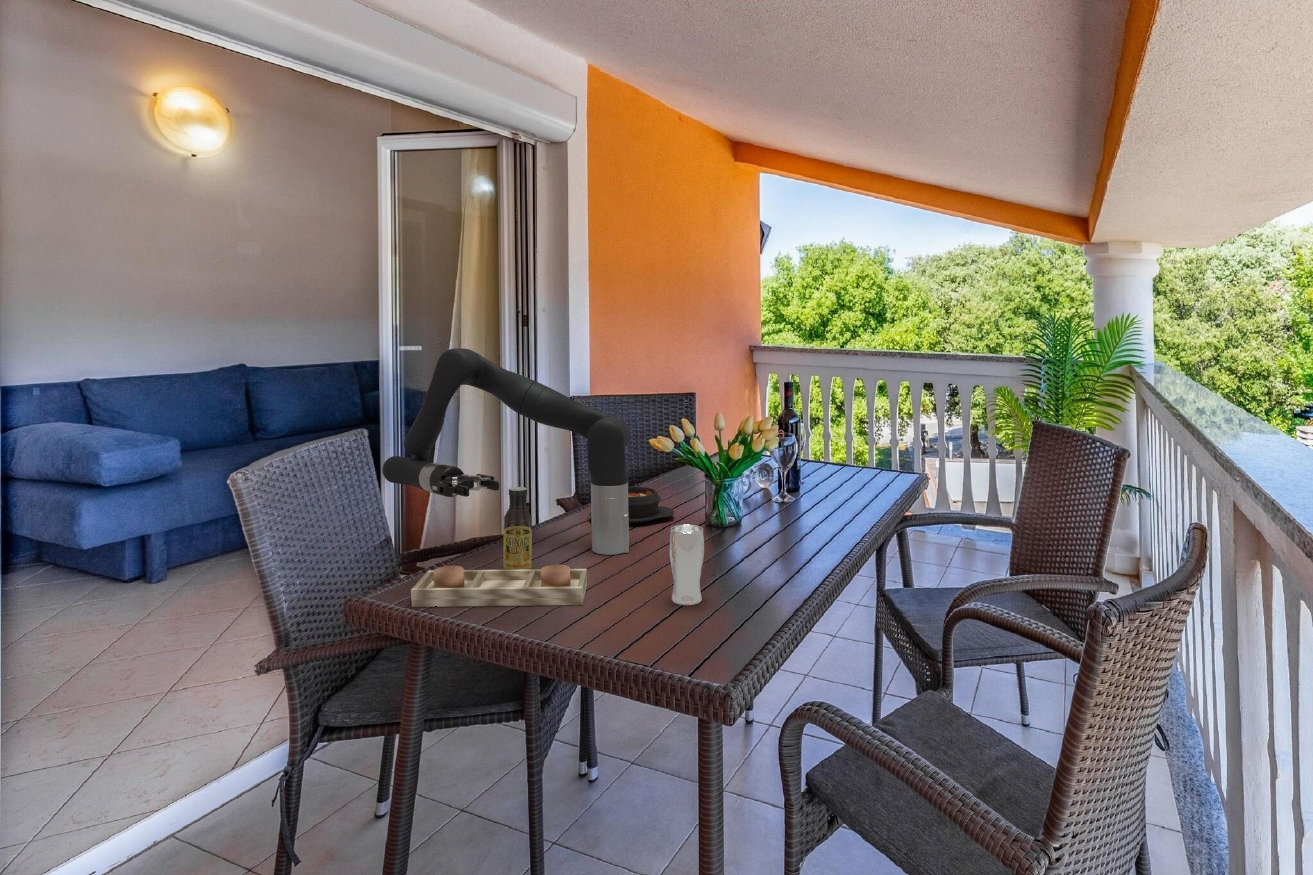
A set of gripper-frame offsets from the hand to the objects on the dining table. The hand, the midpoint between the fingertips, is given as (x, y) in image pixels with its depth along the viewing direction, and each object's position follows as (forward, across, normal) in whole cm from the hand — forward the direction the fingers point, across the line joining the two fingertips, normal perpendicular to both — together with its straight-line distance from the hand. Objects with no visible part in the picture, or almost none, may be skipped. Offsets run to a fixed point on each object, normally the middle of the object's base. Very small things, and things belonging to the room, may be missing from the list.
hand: (483, 489), depth 168 cm
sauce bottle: (+12, 0, +18) cm, 22 cm away
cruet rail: (+19, -10, +18) cm, 28 cm away
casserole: (0, +53, +18) cm, 56 cm away
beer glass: (+51, +11, +18) cm, 55 cm away
